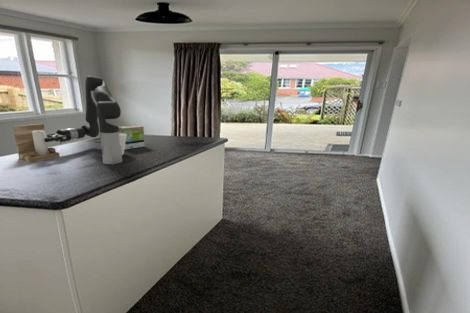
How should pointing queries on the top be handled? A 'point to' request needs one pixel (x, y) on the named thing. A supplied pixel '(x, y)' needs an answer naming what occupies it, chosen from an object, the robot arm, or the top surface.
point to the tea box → (133, 136)
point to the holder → (30, 143)
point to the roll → (40, 142)
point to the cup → (122, 141)
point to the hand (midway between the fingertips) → (39, 139)
